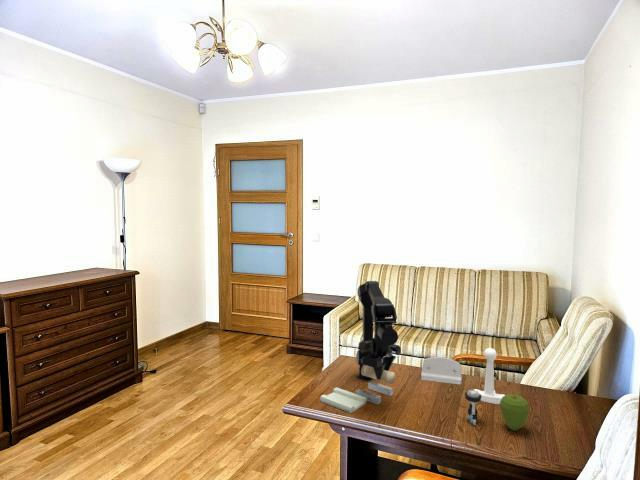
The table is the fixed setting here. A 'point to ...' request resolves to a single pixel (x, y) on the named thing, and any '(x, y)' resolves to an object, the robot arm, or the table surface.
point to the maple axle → (370, 372)
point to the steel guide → (378, 388)
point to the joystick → (490, 379)
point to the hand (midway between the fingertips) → (381, 377)
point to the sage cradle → (344, 400)
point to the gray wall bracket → (441, 370)
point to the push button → (473, 404)
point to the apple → (514, 411)
